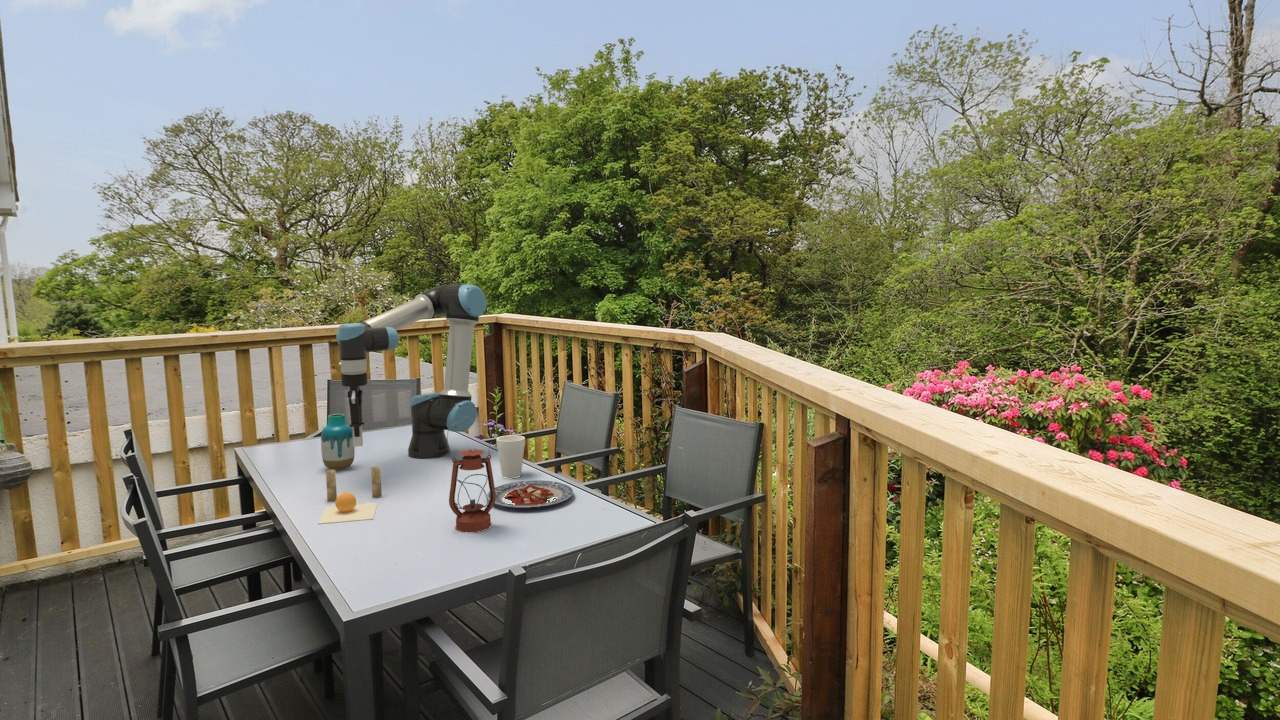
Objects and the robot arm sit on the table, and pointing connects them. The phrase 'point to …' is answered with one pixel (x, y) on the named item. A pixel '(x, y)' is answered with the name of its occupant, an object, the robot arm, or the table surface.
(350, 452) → the vase
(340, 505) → the ball
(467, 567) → the table surface
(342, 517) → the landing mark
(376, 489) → the right post
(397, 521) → the table surface
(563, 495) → the ceramic plate
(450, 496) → the lantern
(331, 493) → the left post
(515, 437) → the foam cup
